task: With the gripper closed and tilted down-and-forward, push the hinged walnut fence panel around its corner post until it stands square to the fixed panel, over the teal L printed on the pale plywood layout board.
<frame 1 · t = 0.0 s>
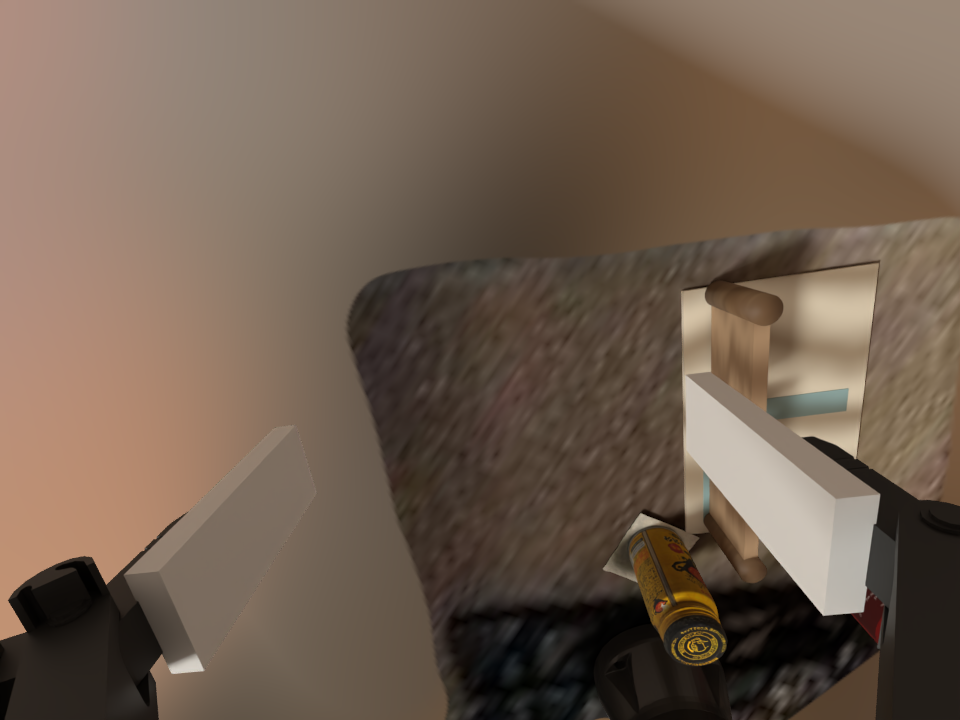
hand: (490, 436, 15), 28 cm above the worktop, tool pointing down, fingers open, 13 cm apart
fence fixed: (715, 415, 44), resting on layout board
condiment: (649, 550, 50), on the worktop, touching layout board
fence panel: (738, 352, 38), point 4 cm above the worktop, hinge at 0.0°
canned food: (848, 557, 50), on the worktop
layout board: (770, 411, 44), on the worktop
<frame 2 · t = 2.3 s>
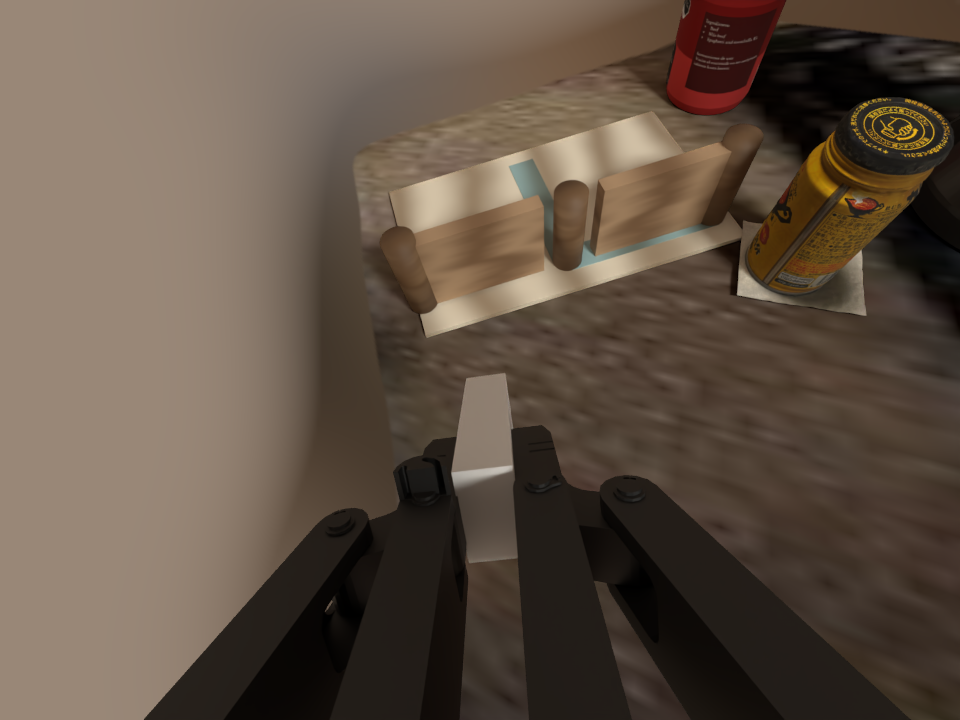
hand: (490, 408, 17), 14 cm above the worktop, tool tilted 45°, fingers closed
fence fixed: (567, 259, 37), resting on layout board
condiment: (797, 268, 34), on the worktop, touching layout board
fence panel: (469, 256, 33), point 4 cm above the worktop, hinge at 0.0°
canned food: (703, 93, 45), on the worktop
layout board: (550, 215, 40), on the worktop
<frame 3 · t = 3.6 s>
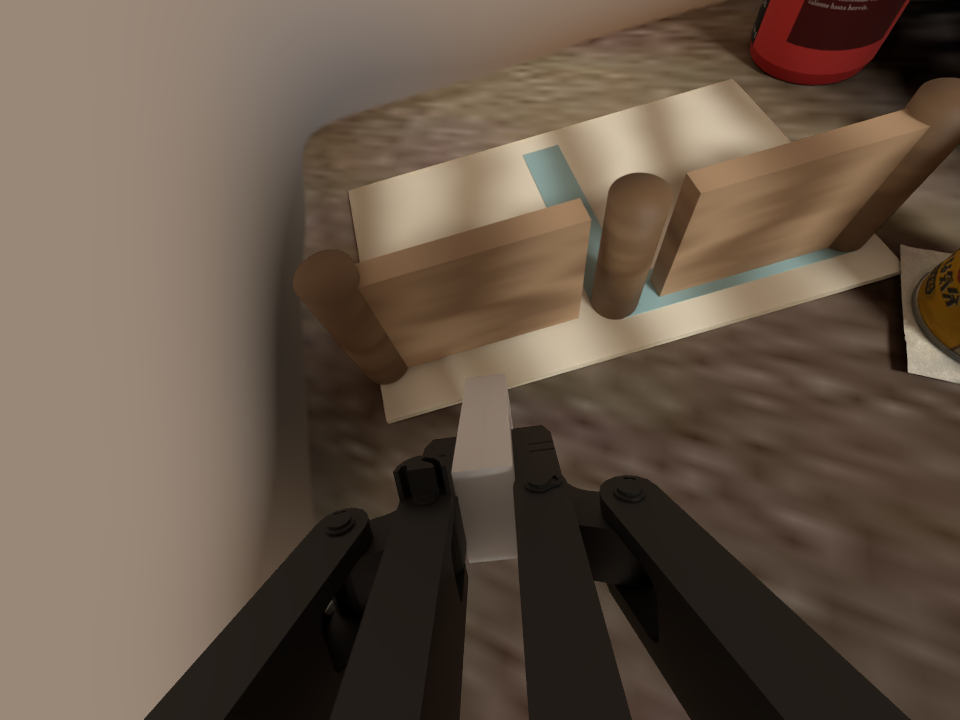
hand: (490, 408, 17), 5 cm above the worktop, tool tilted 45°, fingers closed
fence fixed: (614, 300, 24), resting on layout board
fence panel: (457, 298, 20), point 4 cm above the worktop, hinge at 0.0°
canned food: (804, 55, 31), on the worktop
layout board: (585, 228, 26), on the worktop
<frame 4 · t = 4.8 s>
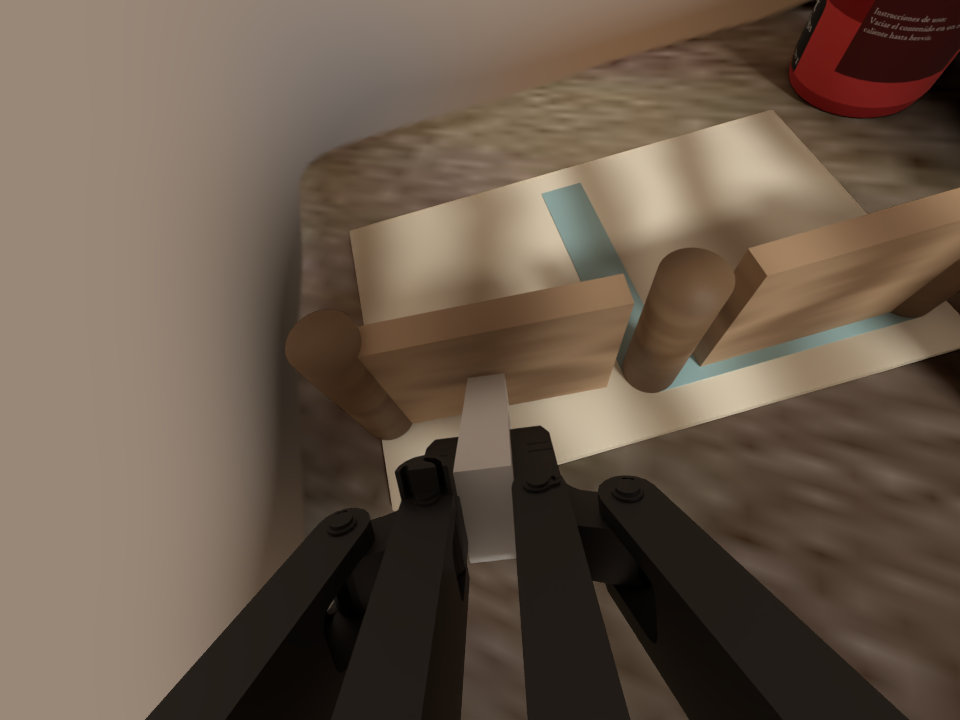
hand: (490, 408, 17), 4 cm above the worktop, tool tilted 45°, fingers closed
fence fixed: (648, 369, 21), resting on layout board
fence panel: (471, 363, 18), point 4 cm above the worktop, hinge at 5.8°, touching gripper
canned food: (849, 83, 28), on the worktop
layout board: (612, 281, 24), on the worktop
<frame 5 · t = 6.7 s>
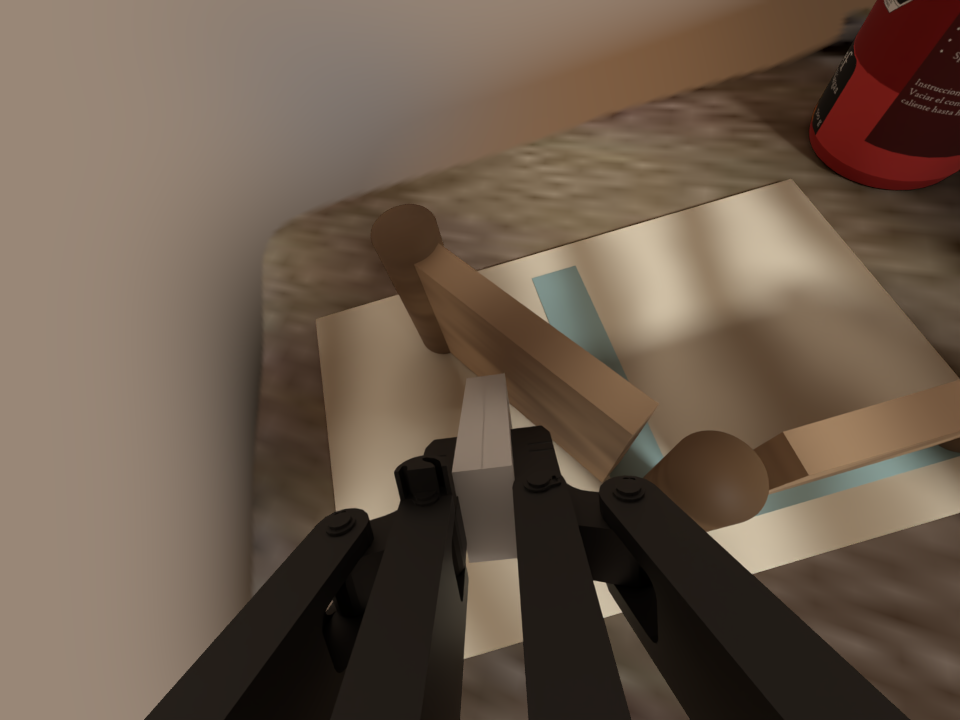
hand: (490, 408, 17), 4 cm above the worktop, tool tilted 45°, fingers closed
fence fixed: (655, 511, 18), resting on layout board
fence panel: (504, 351, 17), point 4 cm above the worktop, hinge at 59.2°, touching gripper
canned food: (877, 145, 25), on the worktop
layout board: (612, 390, 21), on the worktop
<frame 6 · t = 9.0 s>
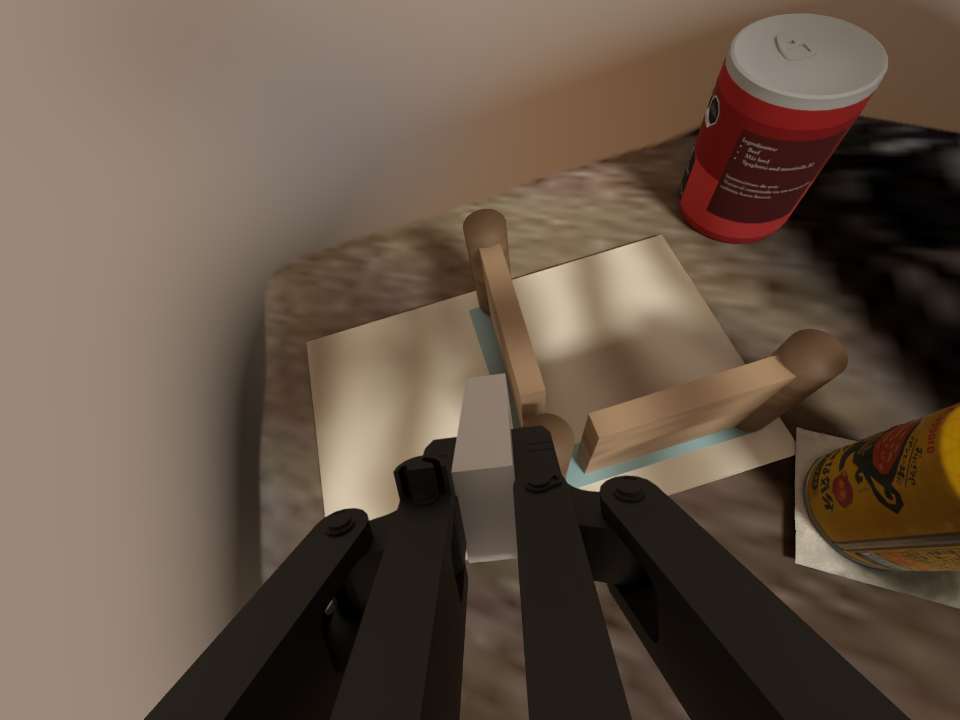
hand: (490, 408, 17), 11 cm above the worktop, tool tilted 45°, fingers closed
fence fixed: (544, 475, 26), resting on layout board
condiment: (880, 514, 23), on the worktop, touching layout board
fence panel: (507, 327, 26), point 4 cm above the worktop, hinge at 93.7°
canned food: (728, 208, 34), on the worktop
layout board: (522, 392, 29), on the worktop
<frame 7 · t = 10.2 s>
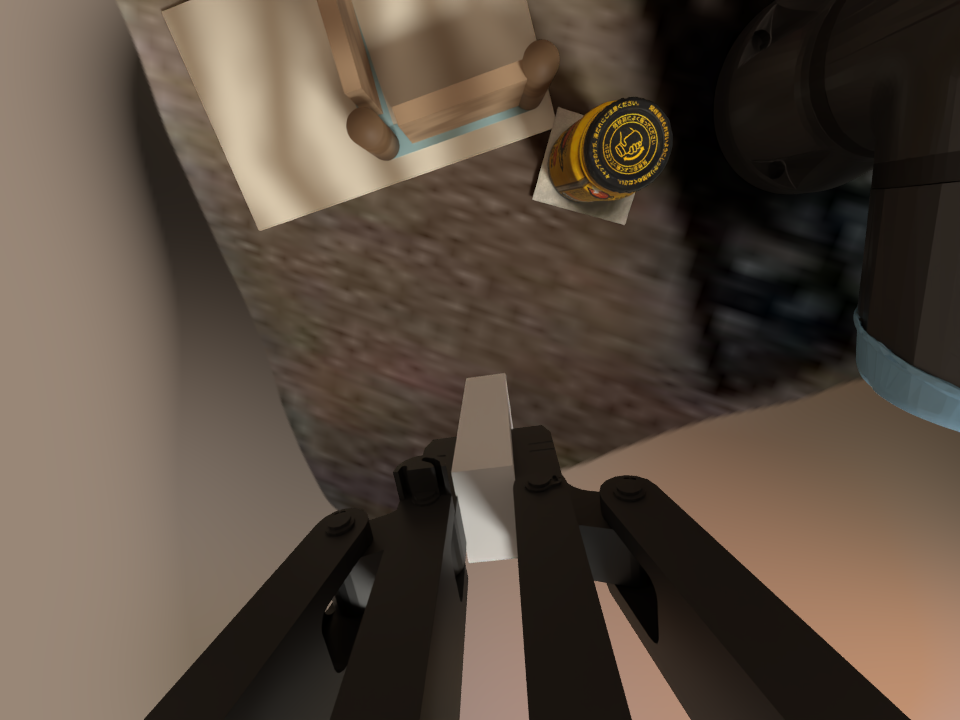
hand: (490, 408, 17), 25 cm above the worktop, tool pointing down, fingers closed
fence fixed: (385, 145, 37), resting on layout board
condiment: (591, 168, 38), on the worktop, touching layout board
fence panel: (339, 14, 31), point 4 cm above the worktop, hinge at 93.7°
layout board: (367, 72, 36), on the worktop
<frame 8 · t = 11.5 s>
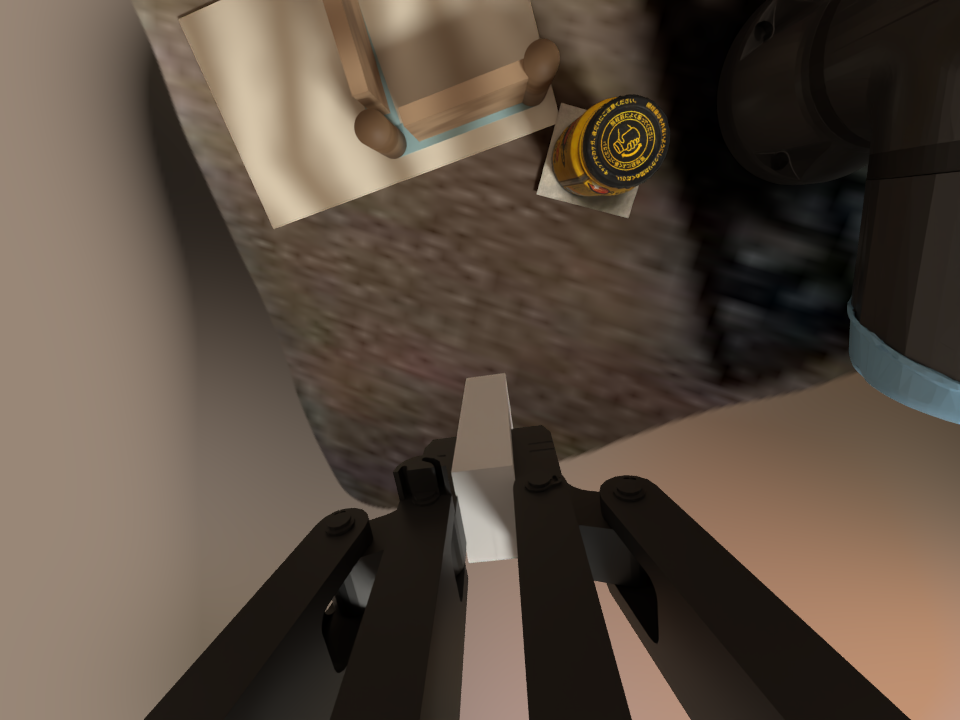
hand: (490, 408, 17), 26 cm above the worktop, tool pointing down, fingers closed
fence fixed: (392, 143, 38), resting on layout board
condiment: (594, 163, 39), on the worktop, touching layout board
fence panel: (346, 18, 32), point 4 cm above the worktop, hinge at 93.7°
layout board: (374, 73, 37), on the worktop
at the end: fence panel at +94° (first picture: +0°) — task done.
